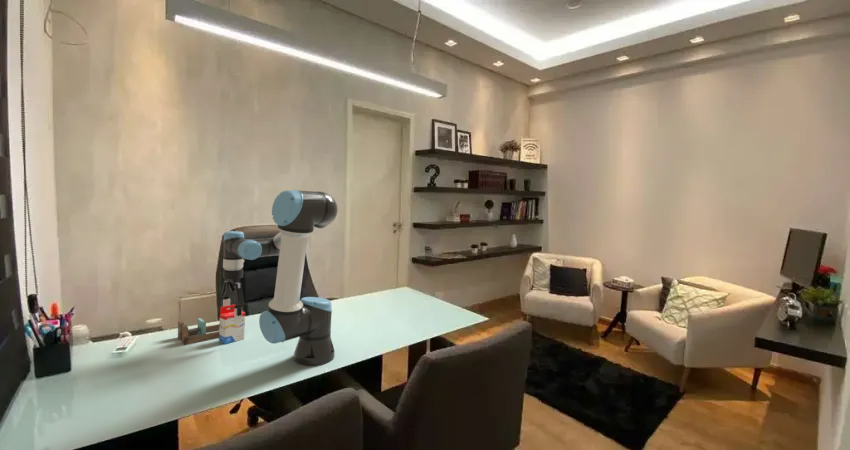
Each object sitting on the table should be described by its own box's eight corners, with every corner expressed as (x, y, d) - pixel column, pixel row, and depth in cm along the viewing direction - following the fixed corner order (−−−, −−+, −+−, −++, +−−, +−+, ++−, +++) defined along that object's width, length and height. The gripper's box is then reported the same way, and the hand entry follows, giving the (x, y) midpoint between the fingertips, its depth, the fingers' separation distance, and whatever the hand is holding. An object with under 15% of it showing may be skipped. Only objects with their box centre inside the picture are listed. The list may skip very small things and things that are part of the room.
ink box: (224, 344, 156) (225, 309, 155) (218, 341, 159) (219, 306, 158) (245, 339, 163) (245, 305, 162) (239, 336, 166) (239, 302, 164)
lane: (237, 334, 168) (237, 318, 167) (184, 345, 153) (184, 328, 153) (228, 327, 175) (228, 312, 174) (177, 337, 161) (178, 321, 160)
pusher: (205, 338, 160) (206, 322, 160) (186, 342, 155) (186, 325, 155) (200, 333, 165) (200, 318, 165) (181, 337, 160) (181, 321, 160)
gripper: (254, 273, 152) (253, 325, 154) (232, 262, 170) (230, 309, 172) (234, 275, 147) (233, 328, 149) (213, 264, 165) (212, 312, 166)
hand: (232, 318), depth 160 cm, fingers open, 13 cm apart
